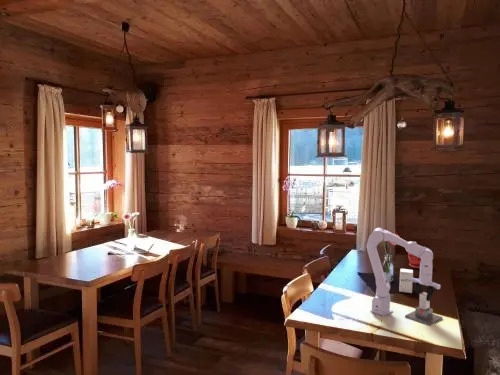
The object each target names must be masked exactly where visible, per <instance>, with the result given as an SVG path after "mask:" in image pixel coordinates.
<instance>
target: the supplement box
mask: <svg viewBox="0 0 500 375" xmlns="http://www.w3.org/2000/svg"><path fill="white" fill-rule="evenodd" d="M399 269H400V270H399V287H398V290H399V292H401V293H409V294H412V293H413V282H411V278H414V270H413V269H407V268H399Z"/></svg>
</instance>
